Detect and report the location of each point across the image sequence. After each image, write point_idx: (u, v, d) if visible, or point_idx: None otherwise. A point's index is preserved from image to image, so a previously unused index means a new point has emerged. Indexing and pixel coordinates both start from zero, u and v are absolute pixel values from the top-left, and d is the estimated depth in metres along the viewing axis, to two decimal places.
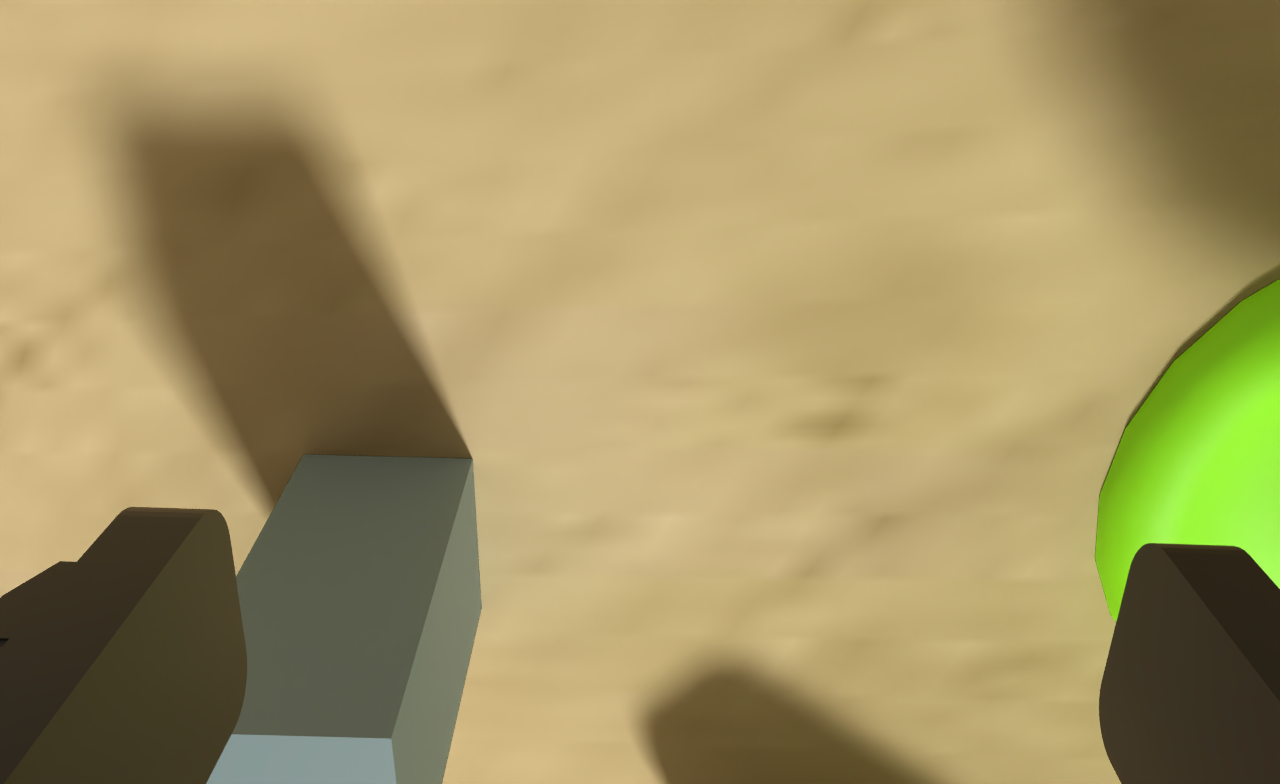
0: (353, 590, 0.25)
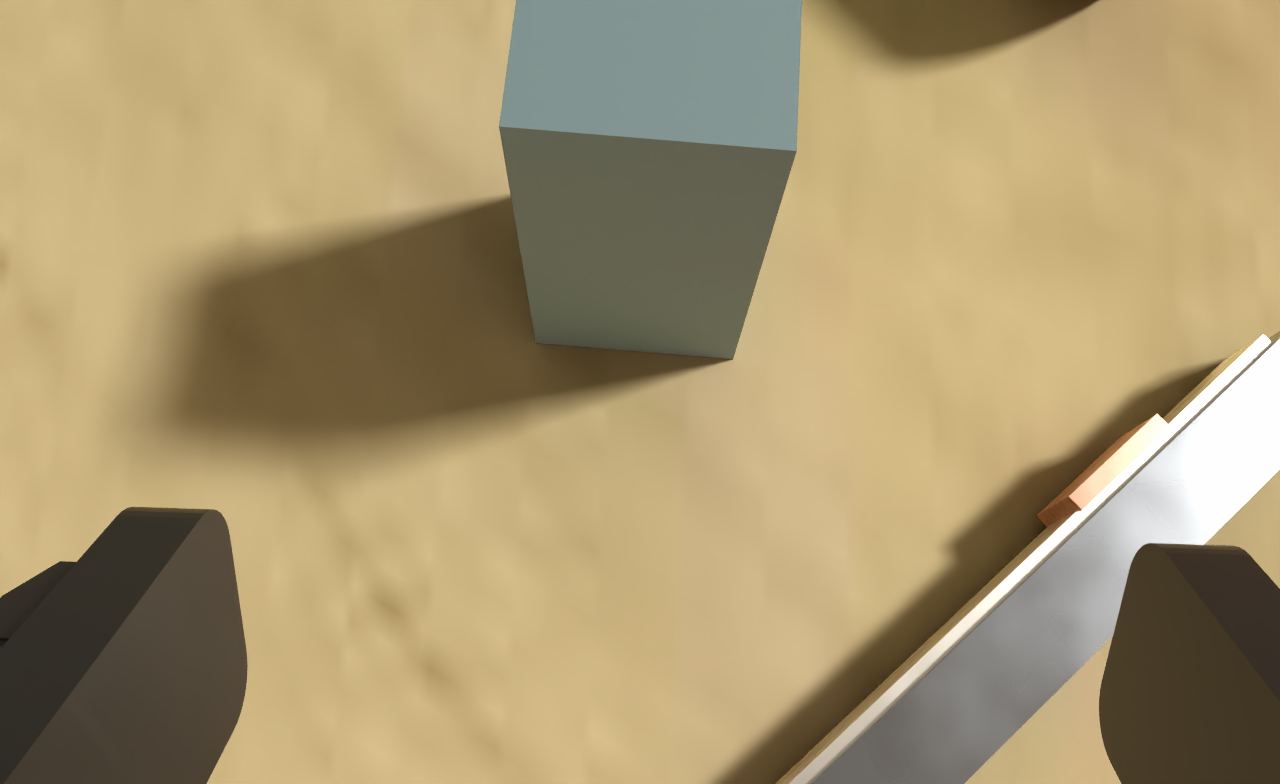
0: None
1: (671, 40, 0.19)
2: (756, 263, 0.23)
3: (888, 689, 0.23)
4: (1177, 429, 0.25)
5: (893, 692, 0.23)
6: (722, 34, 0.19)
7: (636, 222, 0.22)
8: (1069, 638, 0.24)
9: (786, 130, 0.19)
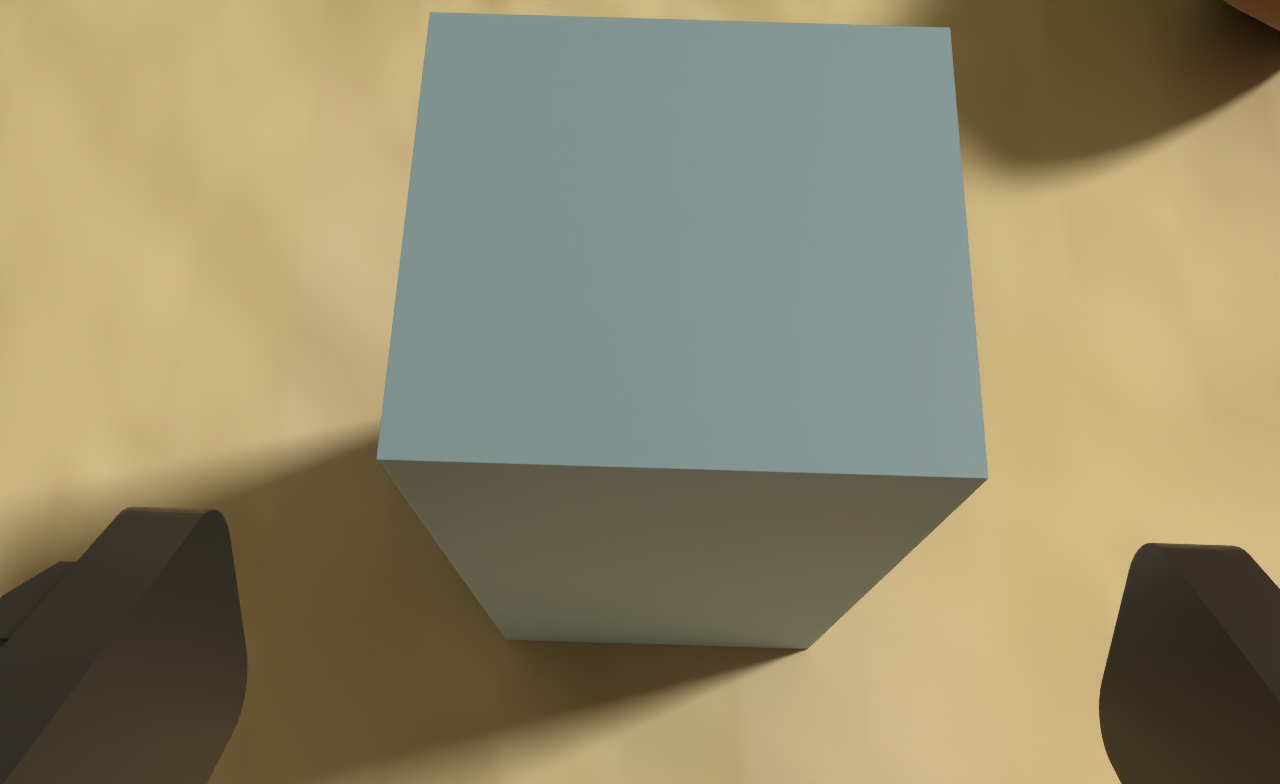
0: None
1: (716, 253, 0.10)
2: (867, 583, 0.13)
3: None
4: None
5: None
6: (815, 234, 0.10)
7: (657, 551, 0.12)
8: None
9: (962, 433, 0.09)
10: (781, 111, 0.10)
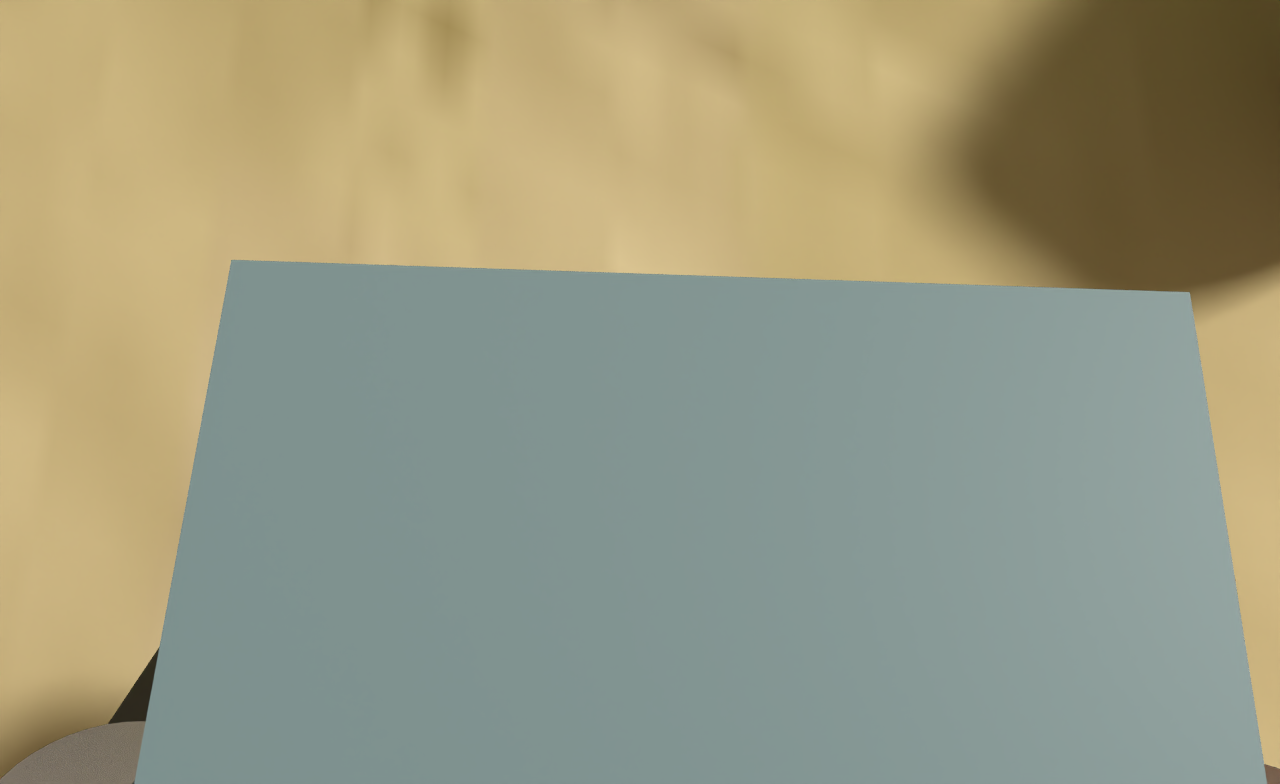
0: None
1: None
2: None
3: None
4: None
5: None
6: (959, 743, 0.05)
7: None
8: None
9: None
10: (883, 467, 0.05)
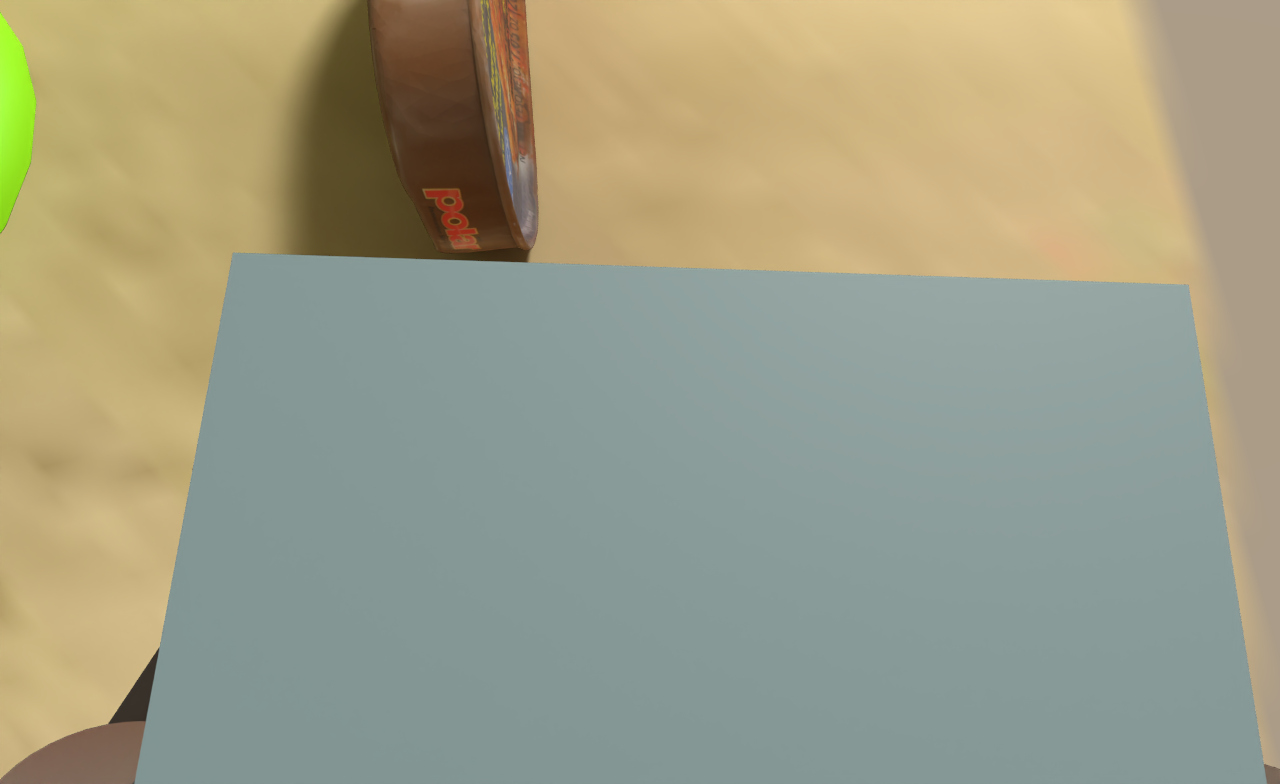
0: None
1: (762, 778, 0.05)
2: None
3: None
4: None
5: None
6: (958, 732, 0.05)
7: None
8: None
9: None
10: (882, 459, 0.05)
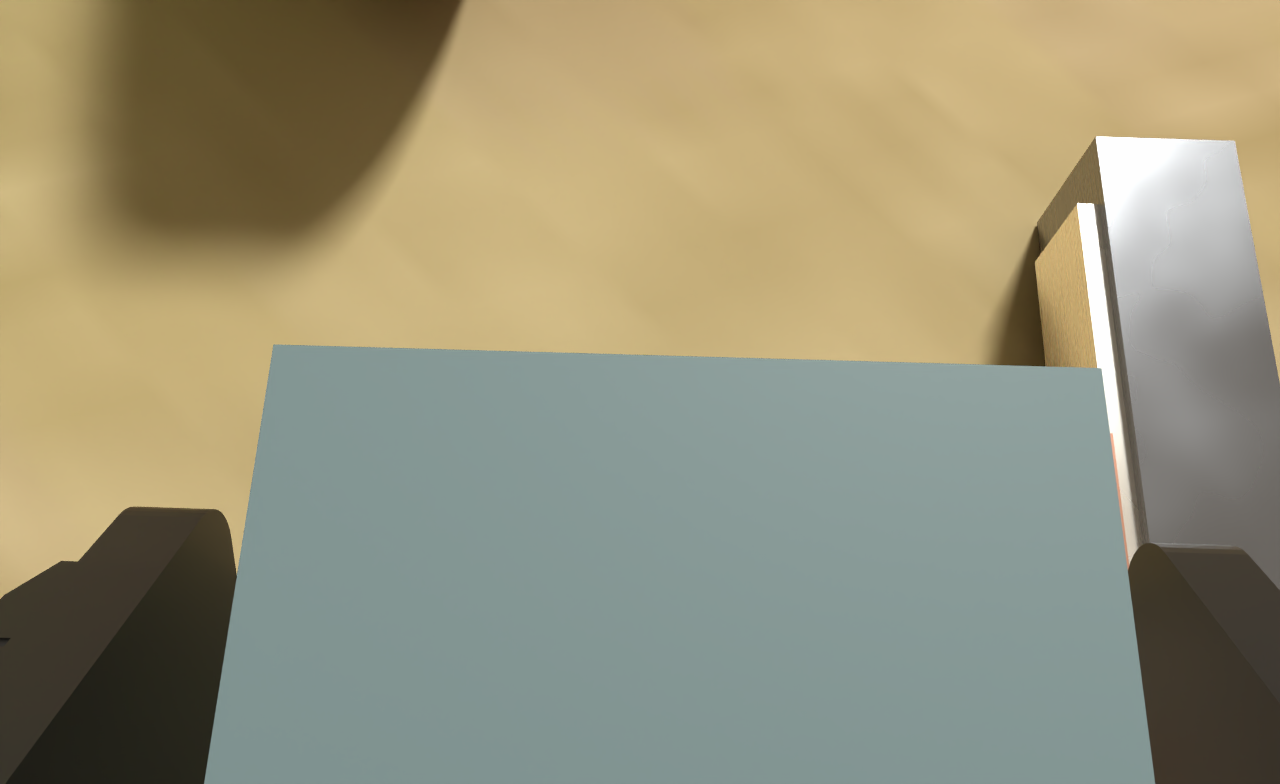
0: None
1: None
2: None
3: None
4: (1123, 428, 0.15)
5: None
6: (898, 762, 0.06)
7: None
8: None
9: None
10: (834, 525, 0.06)
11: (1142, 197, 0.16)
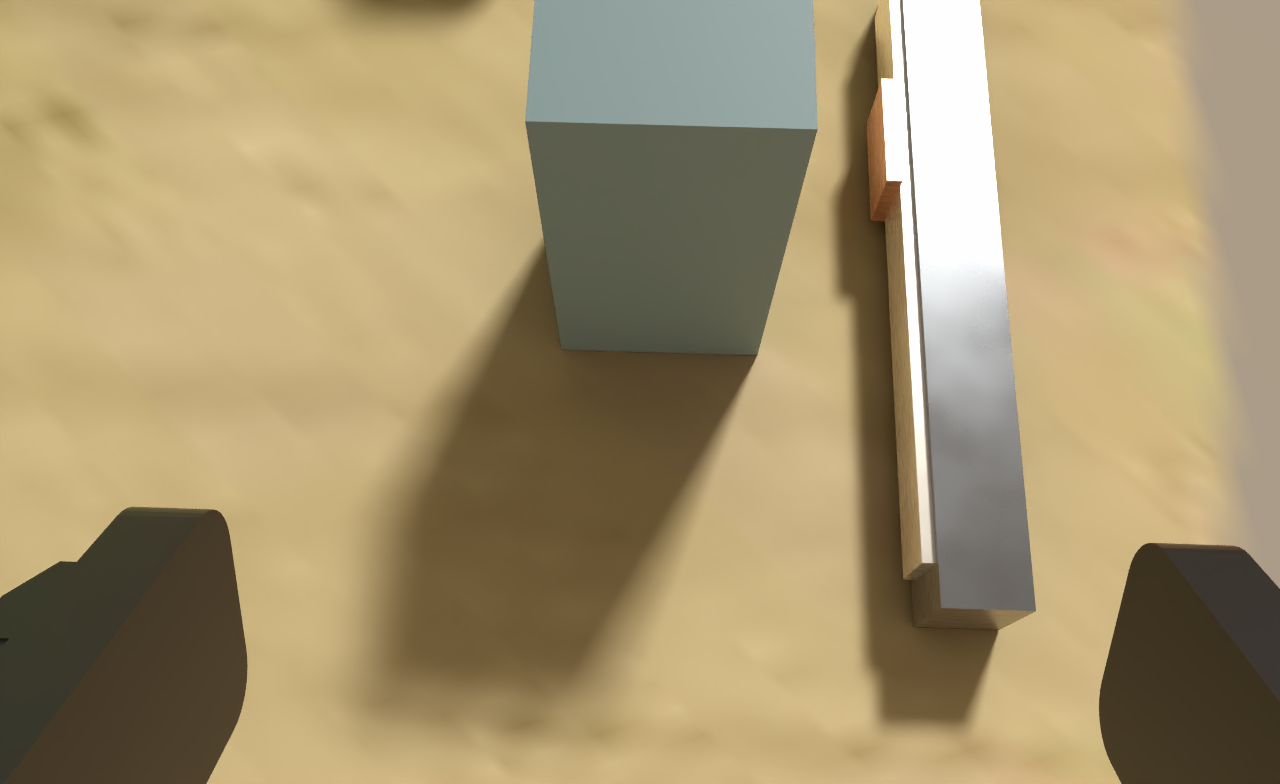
0: None
1: (689, 30, 0.20)
2: (779, 251, 0.23)
3: (913, 409, 0.25)
4: (903, 77, 0.29)
5: (918, 408, 0.25)
6: (737, 21, 0.20)
7: (659, 215, 0.22)
8: (980, 265, 0.26)
9: (806, 110, 0.19)
10: None
11: None
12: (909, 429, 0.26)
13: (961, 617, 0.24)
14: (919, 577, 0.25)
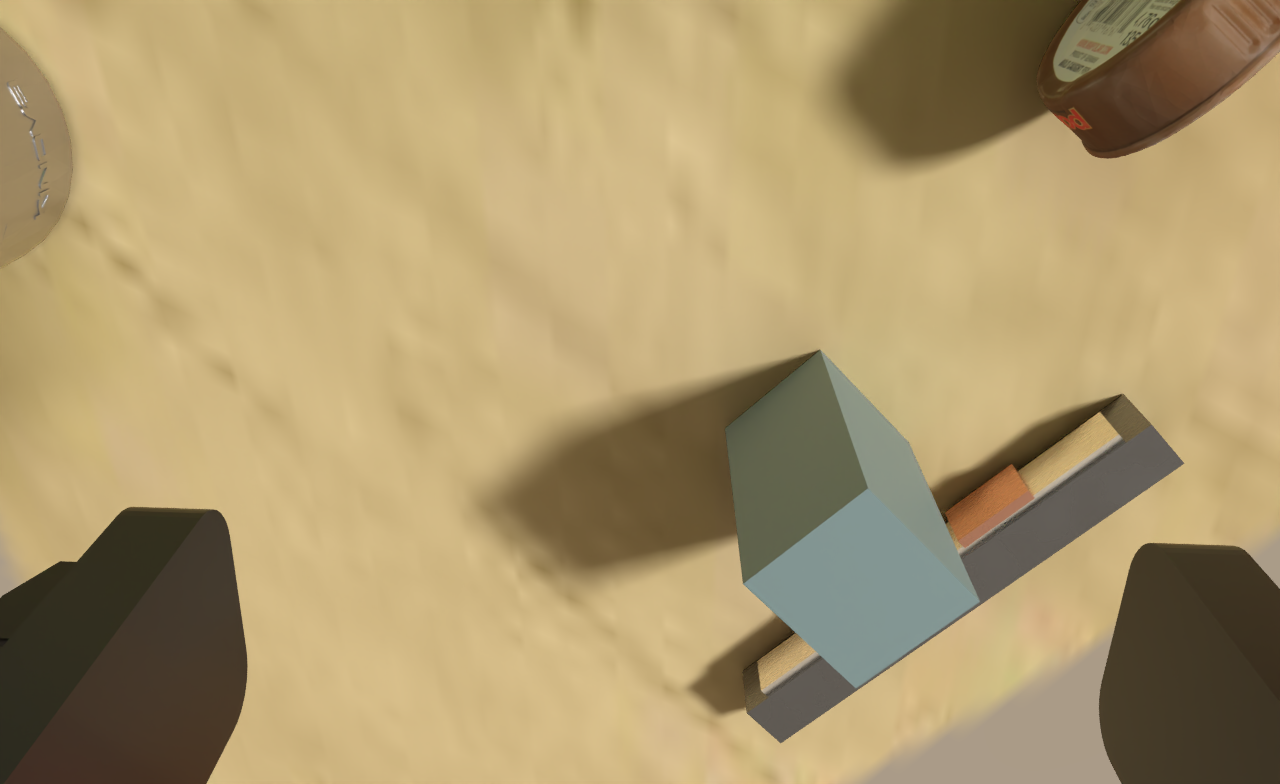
0: (799, 454, 0.34)
1: (860, 603, 0.32)
2: None
3: None
4: (1039, 499, 0.39)
5: None
6: (886, 618, 0.32)
7: None
8: None
9: (862, 677, 0.33)
10: (915, 586, 0.31)
11: (1135, 453, 0.38)
12: None
13: None
14: None
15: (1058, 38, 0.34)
